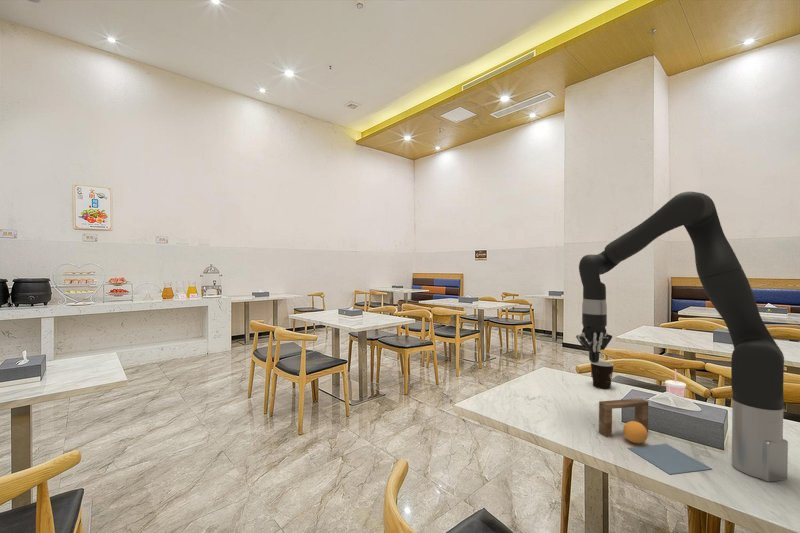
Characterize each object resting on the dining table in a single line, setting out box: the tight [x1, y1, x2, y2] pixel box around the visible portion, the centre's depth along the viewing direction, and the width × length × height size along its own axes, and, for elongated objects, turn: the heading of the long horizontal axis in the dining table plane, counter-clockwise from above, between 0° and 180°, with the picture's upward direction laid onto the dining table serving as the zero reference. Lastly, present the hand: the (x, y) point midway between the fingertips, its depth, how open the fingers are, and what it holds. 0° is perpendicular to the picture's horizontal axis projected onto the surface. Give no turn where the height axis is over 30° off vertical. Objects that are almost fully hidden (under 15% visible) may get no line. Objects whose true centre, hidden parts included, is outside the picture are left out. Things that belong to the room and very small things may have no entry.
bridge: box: [598, 397, 649, 438], centre depth 112 cm, size 3×15×10 cm, turn 101°
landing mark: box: [627, 443, 713, 476], centre depth 97 cm, size 13×13×1 cm
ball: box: [622, 420, 649, 444], centre depth 106 cm, size 6×6×6 cm
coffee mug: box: [590, 360, 615, 390], centre depth 154 cm, size 12×9×10 cm
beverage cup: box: [664, 368, 687, 399], centre depth 133 cm, size 6×6×14 cm
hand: (594, 362), depth 125 cm, fingers closed
